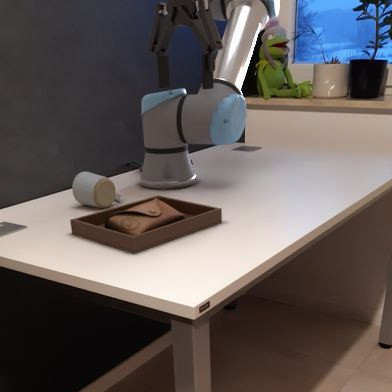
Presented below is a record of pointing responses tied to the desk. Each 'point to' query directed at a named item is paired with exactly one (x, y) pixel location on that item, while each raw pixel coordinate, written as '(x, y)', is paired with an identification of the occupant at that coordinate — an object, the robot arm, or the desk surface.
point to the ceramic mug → (94, 190)
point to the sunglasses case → (143, 218)
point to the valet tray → (192, 222)
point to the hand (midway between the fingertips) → (185, 88)
